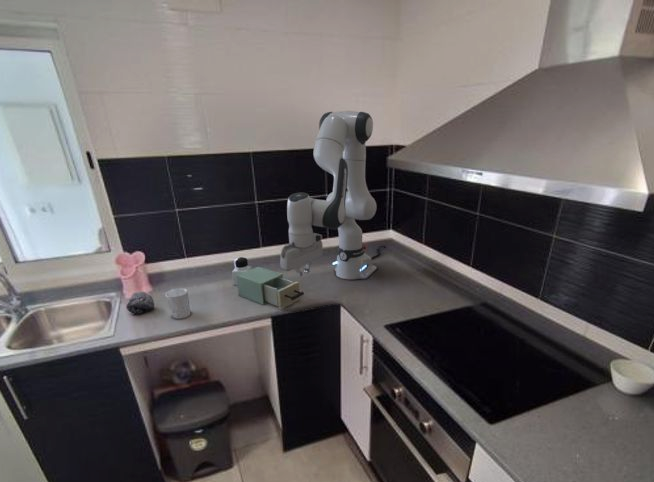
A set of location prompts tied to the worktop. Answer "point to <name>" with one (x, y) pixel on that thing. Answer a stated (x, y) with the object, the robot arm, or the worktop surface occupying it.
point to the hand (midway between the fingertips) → (303, 274)
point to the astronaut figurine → (240, 268)
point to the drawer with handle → (281, 292)
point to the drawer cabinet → (255, 283)
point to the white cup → (178, 303)
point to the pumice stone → (140, 303)
